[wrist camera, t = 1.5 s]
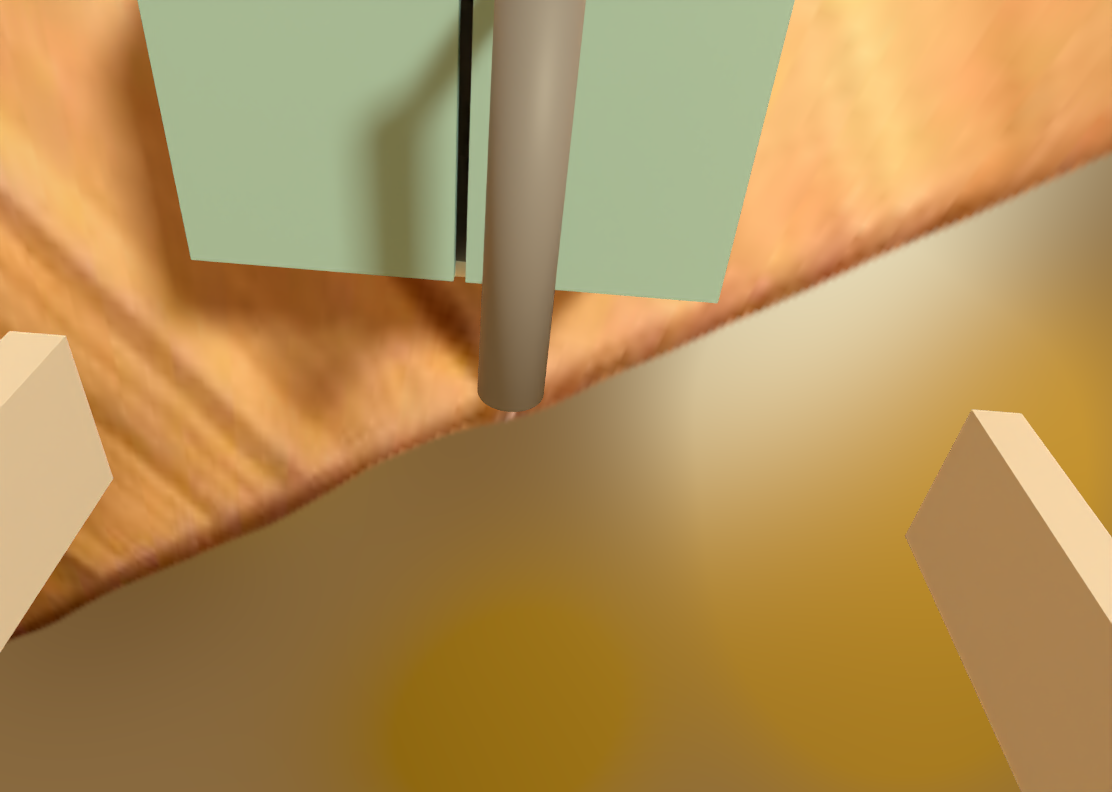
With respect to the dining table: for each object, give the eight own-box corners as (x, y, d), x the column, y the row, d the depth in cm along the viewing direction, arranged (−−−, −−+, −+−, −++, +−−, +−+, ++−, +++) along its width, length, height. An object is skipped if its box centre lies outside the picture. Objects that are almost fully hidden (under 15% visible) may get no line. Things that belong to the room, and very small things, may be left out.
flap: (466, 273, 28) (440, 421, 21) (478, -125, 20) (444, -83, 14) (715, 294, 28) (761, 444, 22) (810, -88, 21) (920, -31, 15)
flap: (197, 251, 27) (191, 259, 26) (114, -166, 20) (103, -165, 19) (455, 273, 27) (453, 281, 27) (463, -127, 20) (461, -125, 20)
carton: (277, 147, 35) (196, 254, 27) (236, -189, 28) (110, -176, 20) (681, 184, 36) (716, 297, 28) (744, -131, 29) (815, -97, 21)
